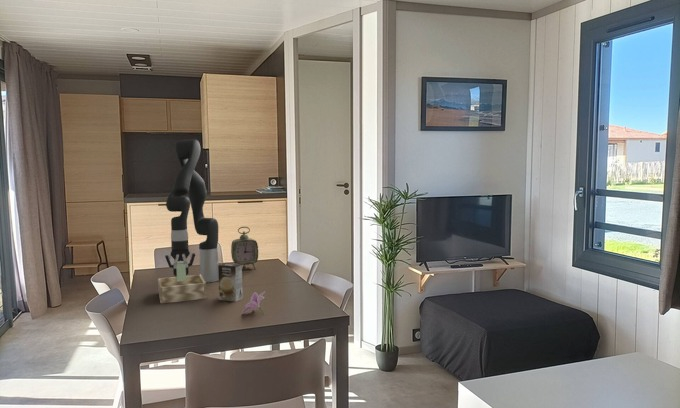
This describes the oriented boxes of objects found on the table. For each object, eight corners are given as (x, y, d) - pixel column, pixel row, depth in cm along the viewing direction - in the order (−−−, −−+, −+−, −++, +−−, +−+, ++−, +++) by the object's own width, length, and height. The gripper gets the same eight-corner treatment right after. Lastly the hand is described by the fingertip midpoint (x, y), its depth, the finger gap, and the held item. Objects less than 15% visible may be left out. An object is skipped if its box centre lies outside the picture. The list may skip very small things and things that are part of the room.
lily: (269, 310, 216) (259, 290, 216) (278, 306, 206) (267, 285, 207) (245, 324, 209) (234, 303, 210) (253, 320, 199) (241, 299, 200)
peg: (185, 279, 240) (184, 262, 240) (186, 280, 237) (185, 263, 236) (176, 279, 239) (175, 263, 238) (177, 281, 235) (176, 264, 235)
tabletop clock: (233, 271, 290) (232, 228, 288) (231, 268, 298) (229, 226, 296) (258, 269, 295) (257, 226, 293) (255, 266, 303) (254, 225, 301)
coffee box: (218, 300, 230) (217, 265, 228) (226, 296, 236) (224, 262, 234) (236, 301, 226) (235, 266, 225) (243, 298, 233) (242, 263, 231)
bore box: (201, 288, 251) (200, 274, 251) (206, 298, 233) (206, 283, 232) (158, 293, 244) (157, 278, 243) (160, 303, 225) (159, 287, 225)
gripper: (194, 237, 242) (195, 272, 244) (163, 239, 237) (164, 275, 238) (196, 239, 235) (197, 275, 237) (163, 241, 230) (165, 278, 232)
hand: (181, 275), depth 238 cm, fingers closed on peg, 4 cm apart
